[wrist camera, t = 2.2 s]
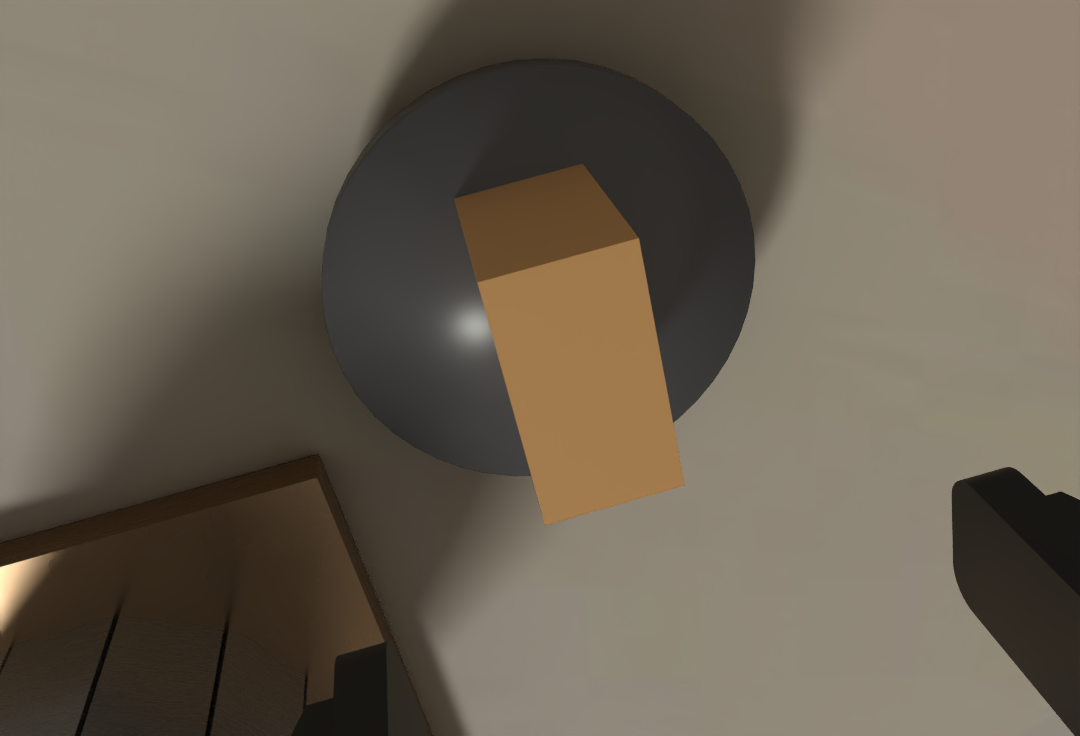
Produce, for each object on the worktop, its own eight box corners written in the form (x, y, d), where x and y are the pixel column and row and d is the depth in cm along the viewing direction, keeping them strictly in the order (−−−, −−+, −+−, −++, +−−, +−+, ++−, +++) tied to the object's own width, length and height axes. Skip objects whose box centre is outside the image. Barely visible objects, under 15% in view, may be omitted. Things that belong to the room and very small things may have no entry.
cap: (264, 111, 23) (225, 212, 16) (691, -2, 23) (824, 50, 16) (393, 469, 28) (404, 658, 21) (743, 371, 28) (861, 525, 21)
